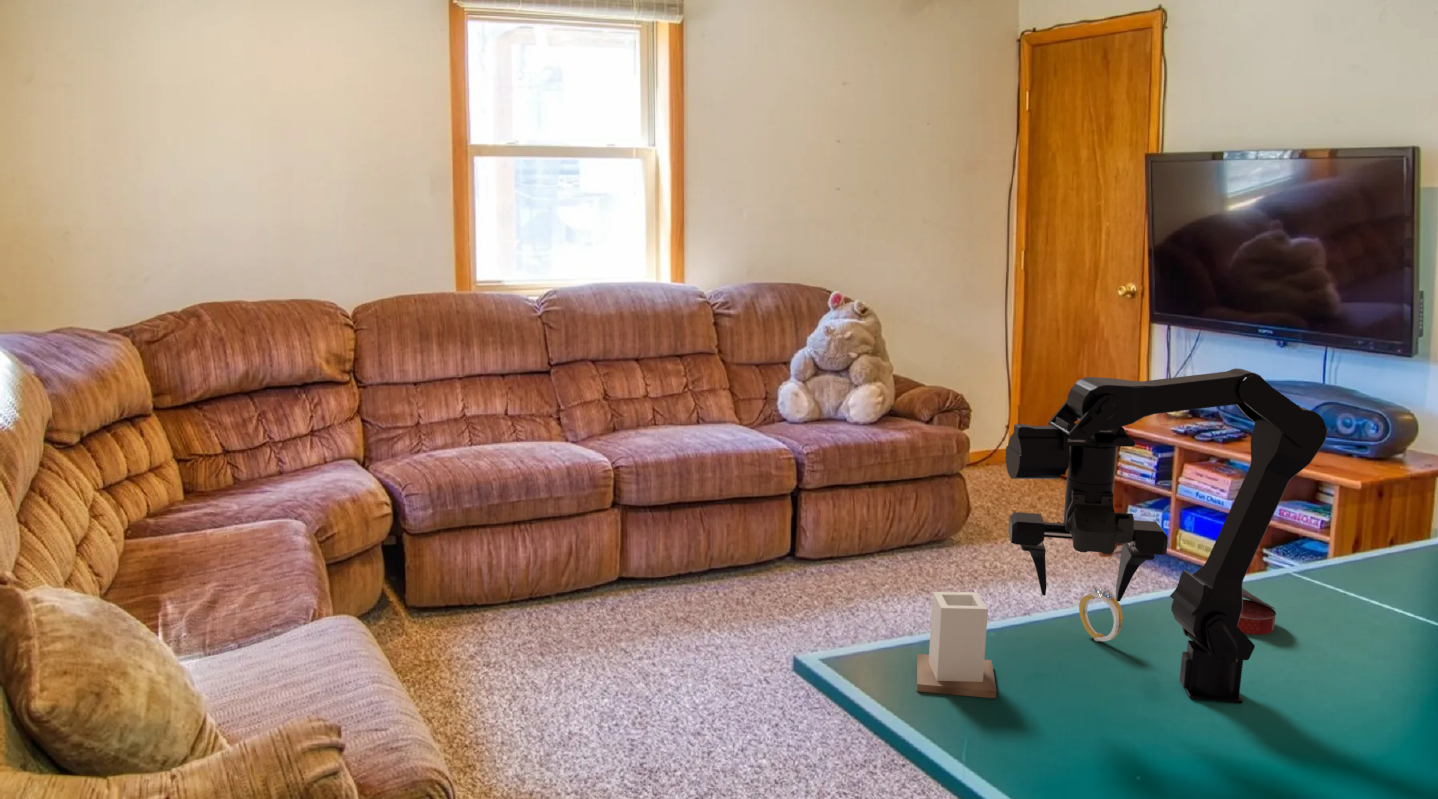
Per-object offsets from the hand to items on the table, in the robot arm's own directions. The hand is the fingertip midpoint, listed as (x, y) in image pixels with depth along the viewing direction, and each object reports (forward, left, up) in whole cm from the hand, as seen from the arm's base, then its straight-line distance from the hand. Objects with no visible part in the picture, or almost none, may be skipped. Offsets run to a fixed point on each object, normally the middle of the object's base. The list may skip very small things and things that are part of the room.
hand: (1080, 597), depth 148 cm
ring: (-6, -19, -13) cm, 24 cm away
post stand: (+15, -1, -13) cm, 20 cm away
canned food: (-29, -31, -13) cm, 45 cm away
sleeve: (+15, -1, -12) cm, 19 cm away
